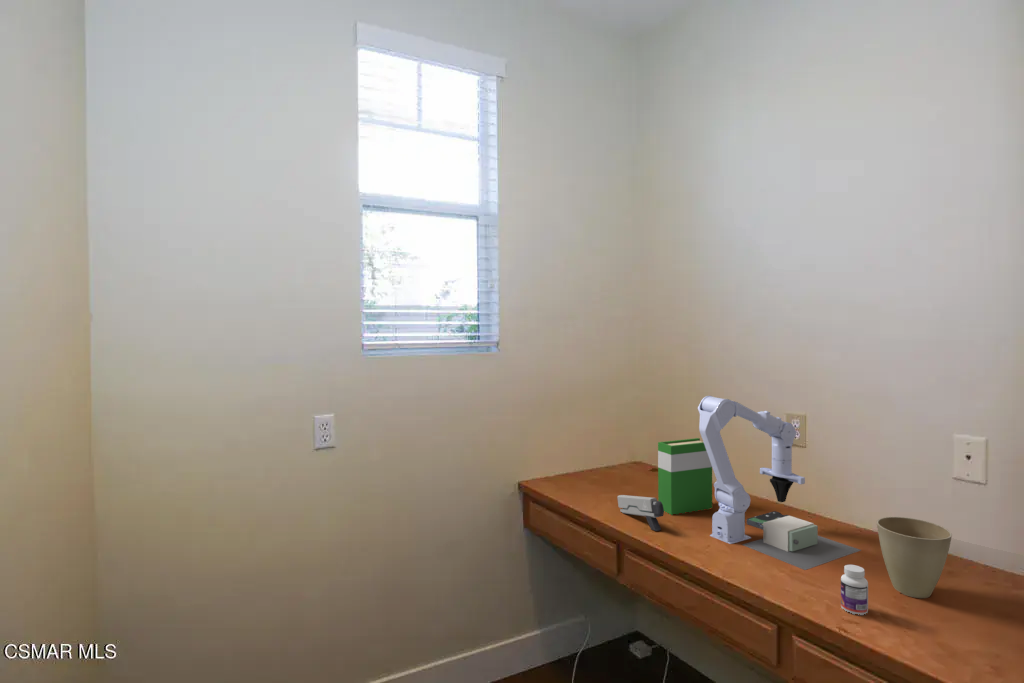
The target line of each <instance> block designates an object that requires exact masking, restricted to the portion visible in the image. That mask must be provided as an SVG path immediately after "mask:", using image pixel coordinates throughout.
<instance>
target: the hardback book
mask: <svg viewBox="0 0 1024 683" xmlns="http://www.w3.org/2000/svg"><path fill="white" fill-rule="evenodd" d="M657 473H658V474H657V485H658V486H657V487H658V488H657V496H658V497H657V498H658V499H657V501H661V503H662V504H663V509H664V511H665V512H664V513H666V512H667V513H666V514H668V513H669V514H668V515H670V514H671V515H670V516H674V515H673V514H676V515H680V514H679V513H682V514H686V513H685V512H689V513H693V512H692V511H695V512H699V511H698V510H701V511H705V510H704V509H707V510H711V509H710V508H712V509H713V468H712V465H711V462H710V459H709V456H708V453H707V451H706V448H705V445H704V442H703V440H702V441H701V439H700V438H699V437H695V438H687V439H686V438H684V439H676V440H675V439H674V440H668V441H667V440H666V441H657Z"/></svg>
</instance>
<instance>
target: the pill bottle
mask: <svg viewBox="0 0 1024 683" xmlns="http://www.w3.org/2000/svg"><path fill="white" fill-rule="evenodd" d="M843 567H844V568H843V573H844V574H842V575H841V577H840V607H841V609H842V610H843V609H844V610H845V612H846V611H847V612H846V613H848V612H850V613H849V614H851V613H852V614H851V615H855V614H858V615H857V616H865V615H867V614H868V612H869V582H868V579H866V577H865V574H866V572H865V568H864V567H862V566H860V565H855V564H845V565H844V566H843ZM844 610H843V611H844ZM866 613H867V614H866ZM859 614H860V615H859ZM864 614H865V615H864Z"/></svg>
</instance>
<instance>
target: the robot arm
mask: <svg viewBox="0 0 1024 683" xmlns="http://www.w3.org/2000/svg"><path fill="white" fill-rule="evenodd" d="M697 410H698V413H699V426H698V430H699V434H700V437H701V439H702V442H704V445H705V448H706V451H707V453H708V456H709V459H710V462H711V465H712V471H713V472H714V476H715V478H716V481H715V482H713V487H714V497H715V500H716V501H717V502H718V507H719V508H718V511H715V512H714V513H713V514H712V519H711V521H712V522H711V524H712V525H711V528H712V529H711V530H712V531H711V534H709V537H711V538H713V539H717V540H719V541H721V542H724V543H726V544H729V545H732V544H735V543H736V544H737V543H740V542H743V541H747V540H751V539H752V537H751V536H749V535H747V534H745V533H746V530H745V529H746V528H745V527H746V523H745V522H746V519H745V518H746V517H745V516H746V513H745V512H747V510H748V508H749V507H750V505H751V497H750V494H749V493H748V492H747V491H746V490H745V488H744V486H743V484H742V483H741V482H740V481H739V480H738V479H737V477H736V475H735V472H734V469H733V466H732V464H731V460H730V458H729V456H728V452H727V449H726V447H725V446H726V445H725V443H724V441H723V438H722V435H721V430H723V429H724V428H725V426H726V425H728V423H729V422H730V421H731V419H733V417H740V418H741V419H743V420H747V421H749V422H751V423H752V425H753V427H754V428H755V429H757V430H759V431H761V432H763V433H764V434H765V433H766V434H768V436H769V437H770V438H771V468H769V467H760V468H759V474H760V475H765V476H769V477H771V478H769V482H770V483H771V486H772V487H773V490H774V492H775V495H776V499H777V502H778V503H785V502H786V501H787V496H788V493H789V491H790V489H791V487H792V485H793V484H794V483H796V484H798V485H804V484H806V477H805V476H801V475H799V474H795V473H793V471H792V470H793V468H792V467H793V466H792V465H793V464H792V460H793V459H792V458H793V454H792V453H793V451H792V450H793V447H792V446H793V444H794V440H795V438H796V436H797V432H798V431H797V430H796V429H795V426H794V425H793V424H792V423H791V422H787V421H785V420H784V421H783V420H782V417H779V416H774V415H772V414H771V412H770V411H768V410H764V411H763V410H762V411H757V412H756V411H755V410H753V409H751V408H749V407H747V406H745V405H744V404H741V403H740V402H738V401H736V400H735V401H734V400H731V399H728V398H720V397H715V396H712V395H706V396H704V397H703V398H702V399H701V401H700V403H699V404H698V406H697Z"/></svg>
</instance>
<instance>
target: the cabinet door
mask: <svg viewBox="0 0 1024 683" xmlns="http://www.w3.org/2000/svg"><path fill="white" fill-rule="evenodd" d="M818 529H819V528H818V525H816V524H814V525H811V526H808V527H804V528H801V529H797V530H794V531H790V532H789V551H792V552H793V551H796V550H799V549H802V548H806V547H809V546H812V545H815V544H817V543H818V536H819V534H818Z"/></svg>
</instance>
